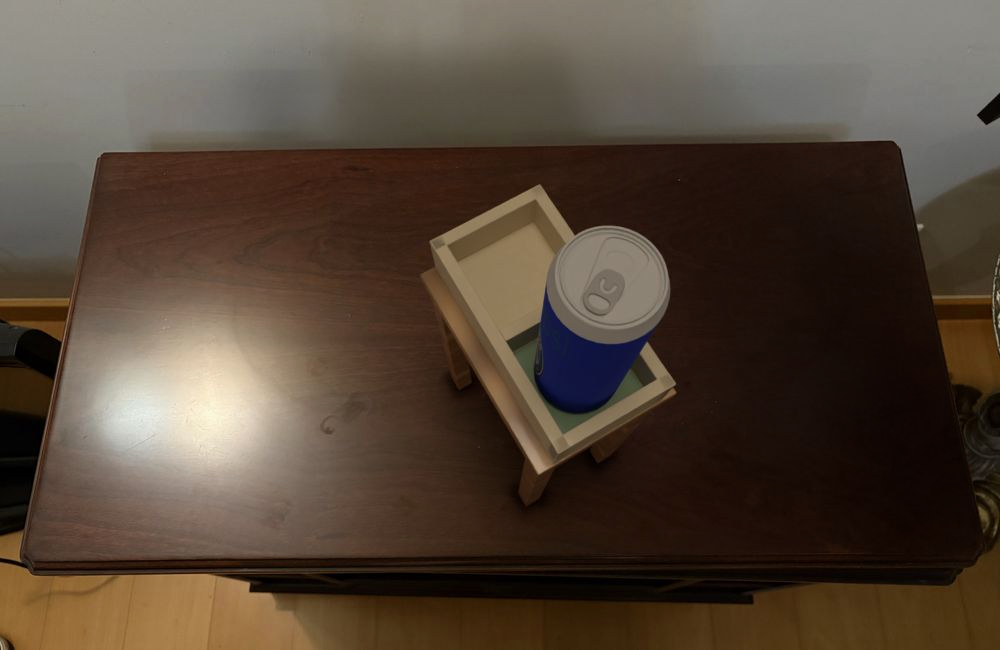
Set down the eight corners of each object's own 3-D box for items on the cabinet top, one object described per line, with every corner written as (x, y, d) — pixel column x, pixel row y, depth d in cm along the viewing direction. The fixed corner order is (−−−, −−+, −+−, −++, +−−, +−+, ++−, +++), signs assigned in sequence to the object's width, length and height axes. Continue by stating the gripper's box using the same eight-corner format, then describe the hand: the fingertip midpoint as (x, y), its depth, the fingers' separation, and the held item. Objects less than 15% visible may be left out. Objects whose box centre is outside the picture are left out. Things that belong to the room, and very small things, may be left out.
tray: (661, 400, 43) (676, 384, 40) (553, 464, 42) (558, 454, 38) (537, 214, 48) (539, 183, 44) (435, 267, 46) (429, 240, 43)
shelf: (614, 456, 68) (677, 392, 44) (525, 510, 67) (538, 475, 42) (533, 329, 72) (550, 205, 48) (448, 376, 71) (419, 274, 46)
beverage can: (559, 318, 44) (585, 198, 30) (633, 358, 43) (697, 255, 29) (517, 387, 42) (524, 296, 28) (593, 431, 42) (639, 360, 27)
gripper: (929, -698, 22) (727, -99, 42) (1709, -231, 15) (1023, 224, 35) (1101, -752, 24) (826, -145, 44) (1898, -343, 16) (1132, 158, 37)
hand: (914, 21), depth 40 cm, fingers open, 13 cm apart
